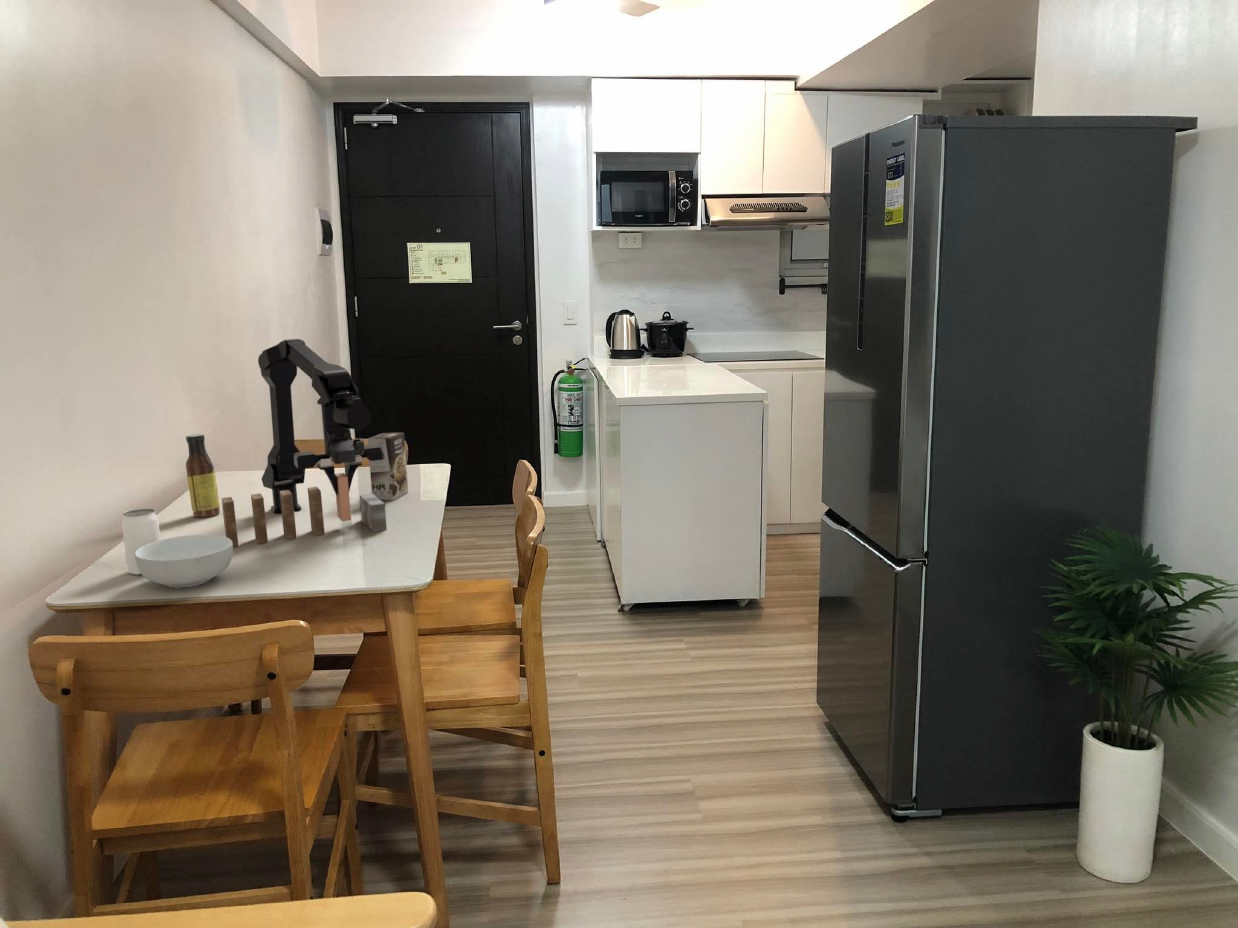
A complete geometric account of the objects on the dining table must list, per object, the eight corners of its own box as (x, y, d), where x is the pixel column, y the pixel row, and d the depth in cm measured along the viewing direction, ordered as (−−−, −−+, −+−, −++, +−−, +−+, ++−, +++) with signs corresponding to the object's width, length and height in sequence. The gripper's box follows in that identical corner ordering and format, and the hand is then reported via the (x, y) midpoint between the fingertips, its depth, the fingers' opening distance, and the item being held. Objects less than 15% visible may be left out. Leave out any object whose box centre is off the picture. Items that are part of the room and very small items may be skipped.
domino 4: (315, 535, 213) (311, 491, 211) (311, 530, 217) (307, 487, 215) (324, 534, 214) (320, 490, 212) (320, 529, 218) (316, 486, 216)
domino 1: (228, 548, 205) (223, 502, 203) (226, 542, 209) (221, 498, 207) (238, 546, 206) (233, 501, 204) (236, 541, 210) (231, 496, 208)
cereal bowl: (136, 601, 172) (131, 564, 171) (141, 576, 187) (136, 541, 186) (237, 587, 179) (233, 550, 178) (234, 563, 194) (230, 529, 192)
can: (136, 566, 193) (128, 508, 191) (169, 565, 194) (162, 507, 192) (122, 576, 187) (114, 517, 185) (156, 574, 188) (149, 515, 185)
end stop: (361, 519, 226) (359, 495, 224) (374, 518, 227) (372, 493, 226) (373, 531, 215) (371, 505, 214) (386, 529, 216) (384, 503, 215)
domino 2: (258, 544, 208) (253, 499, 206) (255, 538, 212) (250, 494, 210) (268, 542, 209) (263, 497, 207) (265, 537, 213) (260, 493, 211)
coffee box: (394, 500, 244) (390, 438, 241) (371, 500, 246) (366, 437, 242) (409, 492, 253) (405, 431, 250) (386, 491, 254) (382, 431, 251)
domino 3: (287, 539, 210) (282, 495, 208) (283, 534, 215) (279, 491, 213) (296, 538, 211) (292, 494, 209) (293, 533, 216) (288, 489, 214)
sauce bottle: (226, 512, 236) (217, 433, 232) (207, 519, 230) (198, 437, 226) (204, 511, 238) (195, 432, 234) (186, 517, 233) (176, 436, 229)
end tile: (342, 521, 215) (338, 477, 213) (337, 516, 219) (334, 473, 217) (351, 520, 216) (347, 476, 214) (346, 515, 220) (343, 472, 218)
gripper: (298, 434, 202) (305, 506, 205) (386, 426, 211) (392, 495, 214) (290, 427, 212) (297, 496, 215) (375, 419, 220) (380, 486, 223)
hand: (342, 493), depth 217 cm, fingers closed on end tile, 2 cm apart
